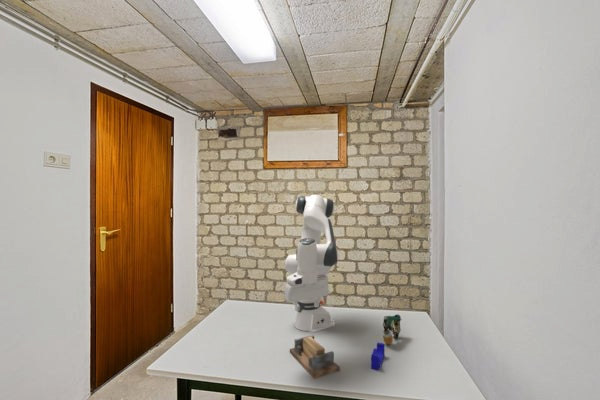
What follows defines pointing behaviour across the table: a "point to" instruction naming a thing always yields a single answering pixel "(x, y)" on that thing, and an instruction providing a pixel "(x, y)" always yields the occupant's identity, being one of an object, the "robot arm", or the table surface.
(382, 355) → the cable clip
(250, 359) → the table surface
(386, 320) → the spray gun
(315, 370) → the wooden clamp fixture
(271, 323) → the table surface
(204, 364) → the table surface
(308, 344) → the top rail
